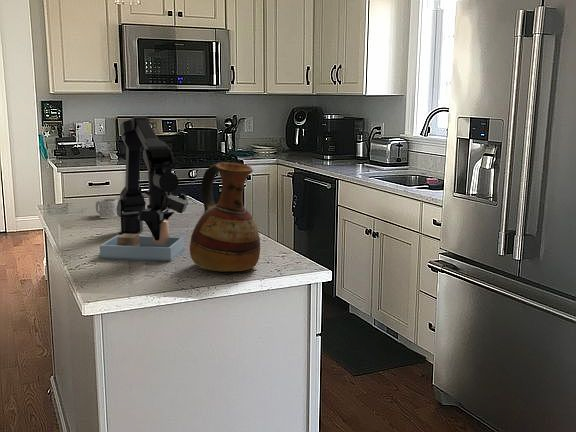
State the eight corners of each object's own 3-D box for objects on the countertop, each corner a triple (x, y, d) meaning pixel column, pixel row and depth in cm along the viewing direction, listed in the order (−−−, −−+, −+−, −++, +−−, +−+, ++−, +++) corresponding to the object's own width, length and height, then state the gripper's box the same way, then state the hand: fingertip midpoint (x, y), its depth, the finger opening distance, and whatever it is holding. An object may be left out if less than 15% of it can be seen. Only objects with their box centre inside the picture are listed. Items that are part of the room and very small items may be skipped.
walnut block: (118, 253, 191) (117, 237, 190) (124, 249, 196) (123, 233, 195) (134, 254, 191) (133, 237, 190) (139, 249, 196) (139, 234, 195)
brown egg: (149, 244, 190) (149, 222, 188) (155, 240, 195) (154, 218, 193) (166, 245, 189) (165, 222, 188) (171, 241, 194) (170, 219, 193)
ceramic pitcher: (233, 282, 166) (231, 169, 160) (175, 270, 176) (171, 163, 170) (274, 265, 182) (274, 161, 176) (218, 255, 192) (217, 156, 186)
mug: (121, 216, 248) (120, 199, 247) (107, 219, 242) (107, 202, 241) (103, 213, 253) (102, 197, 252) (90, 216, 248) (89, 199, 246)
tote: (100, 258, 188) (99, 245, 187) (117, 247, 201) (117, 234, 200) (170, 261, 185) (170, 248, 184) (184, 249, 198) (183, 237, 198)
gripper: (175, 193, 178) (176, 247, 181) (193, 183, 196) (194, 232, 200) (137, 192, 180) (139, 245, 183) (158, 182, 198) (160, 230, 201)
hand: (160, 238), depth 192 cm, fingers closed on brown egg, 5 cm apart
